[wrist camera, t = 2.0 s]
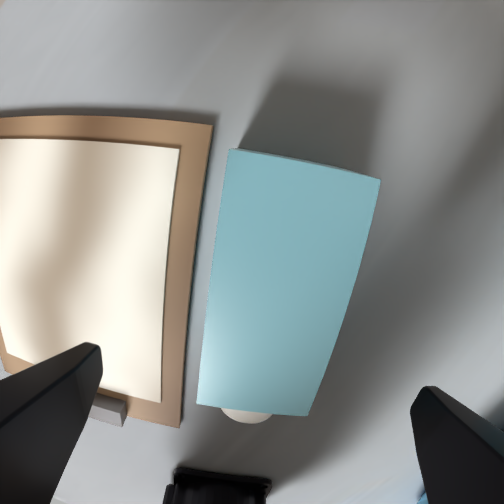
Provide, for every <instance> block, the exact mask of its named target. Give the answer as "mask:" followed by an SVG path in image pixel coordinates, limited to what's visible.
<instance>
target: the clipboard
mask: <svg viewBox="0 0 504 504" xmlns="http://www.w3.org/2000/svg"><path fill="white" fill-rule="evenodd" d="M212 132H213V126H212V125H206V124H198V123H189V122H180V121H170V120H159V119H147V118H132V117H114V116H79V115H56V116H22V117H5V118H0V356H1V360H2V363H3V366H4V369H5V371H6V372H8V373H11V374H15V373H18V372H20V371H22V370H24V369H26V368H29V367H31V366H33V365H35V364H38V363H40V362H42V361H44V360H46V359H49V358H51V357H53V356H55V355H57V354H60V353H62V352H64V351H66V350H68V349H70V348H73V347H75V346H77V345H79V344H81V343H84V342H90V343H94V344H97V345H99V346H100V348H101V353H102V362H103V376H102V379H101V382H100V385H99V387H98V390H97V393H96V396H95V399H94V401H93V404H92V407H91V410H90V413H89V416H88V417H90V418H93V419H96V420H99V421H103V422H106V423H109V424H112V425H116V426H119V427H122V426H123V424H124V421H125V419H126V417H127V416H129V417H133V418H137V419H141V420H145V421H149V422H153V423H157V424H162V425H166V426H171V427H176V428H180V424H181V406H182V389H183V374H184V360H185V347H186V335H187V324H188V313H189V303H190V293H191V284H192V274H193V265H194V257H195V249H196V240H197V233H198V225H199V217H200V210H201V203H202V196H203V189H204V182H205V175H206V169H207V162H208V156H209V150H210V144H211V138H212Z"/></svg>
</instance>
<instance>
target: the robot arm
mask: <svg viewBox="0 0 504 504" xmlns="http://www.w3.org/2000/svg"><path fill="white" fill-rule="evenodd" d="M102 376H103V362H102V353H101V348H100V346H99V345H97V344H94V343H90V342H84V343H81V344H79V345H77V346H75V347H73V348H70V349H68V350H66V351H64V352H62V353H60V354H57V355H55V356H53V357H51V358H49V359H46V360H44V361H42V362H40V363H38V364H35V365H33V366H31V367H29V368H26V369H24V370H22V371H20V372H18V373H15V374H13V375H11V376H9V377H6V378H4V379H2V380H0V504H50V502H51V499H52V497H53V495H54V492H55V490H56V488H57V485H58V483H59V481H60V478H61V476H62V474H63V472H64V469H65V467H66V465H67V463H68V460H69V458H70V456H71V454H72V452H73V449H74V447H75V445H76V443H77V441H78V439H79V437H80V434H81V432H82V430H83V428H84V426H85V424H86V421H87V419H88V416H89V413H90V410H91V407H92V404H93V401H94V399H95V396H96V393H97V390H98V387H99V385H100V382H101V379H102ZM410 416H411V422H412V427H413V434H414V440H415V446H416V452H417V457H418V462H419V466H420V470H421V474H422V478H423V482H424V487H425V491H426V496H427V500H428V504H504V432H503V431H502V430H500V429H499V428H497V427H496V426H494V425H493V424H491V423H490V422H488V421H487V420H485V419H484V418H482V417H481V416H479V415H478V414H476V413H475V412H473V411H472V410H470V409H469V408H467V407H466V406H464V405H463V404H461V403H460V402H458V401H457V400H455V399H454V398H453V397H451V396H450V395H448V394H447V393H445V392H444V391H442V390H441V389H439V388H438V387H436V386H425V387H423V388H422V389H421V390H420V392H419V394H418V395H417V397H416V399H415V401H414V402H413V404H412V406H411V409H410ZM271 488H272V481H271V480H269V479H260V478H248V477H238V476H230V475H222V474H215V473H208V472H202V471H196V470H190V469H185V468H176V469H175V471H174V485H173V484H169V485H167V486H166V491H165V495H164V500H163V504H266V498H267V496H268V494H269V492H270V490H271Z"/></svg>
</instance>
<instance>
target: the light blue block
mask: <svg viewBox="0 0 504 504" xmlns="http://www.w3.org/2000/svg"><path fill="white" fill-rule="evenodd" d="M380 182H381V180H380V179H377V178H374V177H371V176H367V175H364V174H361V173H357V172H354V171H351V170H347V169H344V168H340V167H335V166H331V165H326V164H321V163H317V162H312V161H307V160H302V159H297V158H292V157H286V156H281V155H276V154H270V153H264V152H258V151H252V150H246V149H240V148H235V149H229V152H228V158H227V165H226V171H225V177H224V184H223V190H222V197H221V204H220V211H219V217H218V224H217V231H216V239H215V246H214V253H213V261H212V268H211V276H210V284H209V292H208V300H207V309H206V317H205V326H204V335H203V344H202V353H201V363H200V372H199V382H198V393H197V404H201V405H207V406H213V407H219V408H221V409H222V411H223V412H224V413H225V414H226V415H227V416H228V417H230V418H231V419H233V420H236V421H238V422H242V423H250V424H251V423H259V422H262V421H265V420H267V419H268V418H269V417H270V416H271V415H272V414H279V415H292V416H308V413H309V411H310V408H311V406H312V404H313V401H314V399H315V396H316V394H317V391H318V389H319V386H320V383H321V381H322V378H323V376H324V373H325V370H326V368H327V365H328V362H329V360H330V357H331V354H332V351H333V348H334V346H335V343H336V340H337V337H338V334H339V331H340V328H341V325H342V322H343V319H344V316H345V313H346V310H347V307H348V304H349V300H350V297H351V294H352V291H353V287H354V284H355V281H356V277H357V274H358V270H359V267H360V263H361V260H362V256H363V252H364V249H365V245H366V241H367V237H368V233H369V230H370V226H371V222H372V217H373V213H374V209H375V205H376V201H377V196H378V192H379V187H380Z"/></svg>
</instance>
